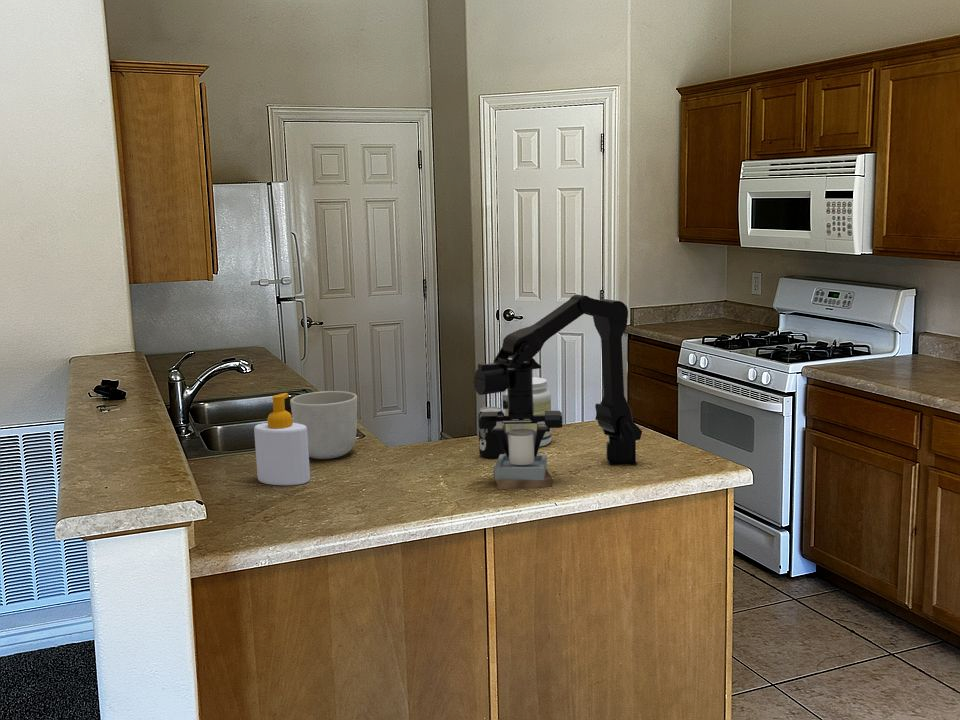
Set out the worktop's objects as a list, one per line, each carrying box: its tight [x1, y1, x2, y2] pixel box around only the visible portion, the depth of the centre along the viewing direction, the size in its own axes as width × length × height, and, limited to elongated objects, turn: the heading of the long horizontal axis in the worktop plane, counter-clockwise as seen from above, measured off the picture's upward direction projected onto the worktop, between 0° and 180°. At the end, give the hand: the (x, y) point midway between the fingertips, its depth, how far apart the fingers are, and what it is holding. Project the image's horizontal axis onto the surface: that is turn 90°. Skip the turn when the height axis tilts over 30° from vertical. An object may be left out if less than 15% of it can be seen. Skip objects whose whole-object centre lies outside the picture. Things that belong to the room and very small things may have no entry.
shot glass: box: [506, 429, 536, 465], centre depth 203 cm, size 7×7×7 cm
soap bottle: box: [253, 392, 311, 486], centre depth 208 cm, size 13×8×20 cm, turn 71°
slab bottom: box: [493, 465, 553, 490], centre depth 204 cm, size 12×12×2 cm
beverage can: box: [477, 406, 506, 459], centre depth 225 cm, size 7×7×12 cm
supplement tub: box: [504, 376, 553, 448], centre depth 235 cm, size 12×12×17 cm
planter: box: [289, 390, 358, 460], centre depth 229 cm, size 17×17×15 cm
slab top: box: [493, 453, 548, 481], centre depth 204 cm, size 11×11×3 cm
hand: (521, 456), depth 203 cm, fingers closed on shot glass, 6 cm apart
